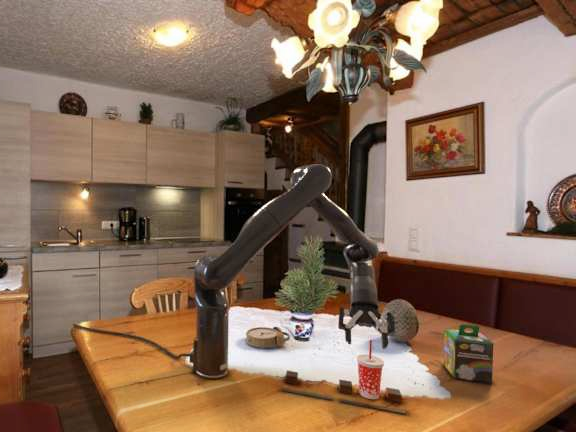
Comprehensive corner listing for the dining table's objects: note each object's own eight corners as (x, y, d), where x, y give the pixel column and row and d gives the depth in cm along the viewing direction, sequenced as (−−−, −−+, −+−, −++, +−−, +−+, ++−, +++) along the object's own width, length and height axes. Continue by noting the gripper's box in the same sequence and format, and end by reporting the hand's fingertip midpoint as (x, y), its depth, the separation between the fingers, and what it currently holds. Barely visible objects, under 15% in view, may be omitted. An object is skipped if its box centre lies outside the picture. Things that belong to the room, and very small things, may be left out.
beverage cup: (381, 403, 86) (383, 346, 85) (354, 396, 89) (355, 341, 89) (383, 392, 91) (385, 339, 91) (357, 385, 94) (359, 334, 94)
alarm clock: (244, 327, 129) (285, 322, 128) (246, 341, 129) (287, 335, 128) (246, 339, 118) (291, 333, 117) (248, 353, 118) (293, 347, 117)
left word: (281, 391, 91) (281, 383, 91) (284, 377, 98) (284, 370, 98) (331, 400, 87) (332, 392, 87) (330, 385, 94) (331, 377, 94)
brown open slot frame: (340, 402, 86) (340, 394, 86) (338, 386, 94) (339, 379, 94) (406, 414, 81) (406, 406, 81) (399, 397, 89) (399, 389, 89)
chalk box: (478, 370, 105) (480, 320, 104) (493, 384, 96) (495, 330, 96) (442, 365, 108) (443, 317, 107) (453, 378, 99) (455, 326, 99)
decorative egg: (424, 342, 125) (426, 301, 125) (408, 350, 119) (410, 305, 118) (390, 332, 135) (392, 293, 135) (374, 338, 128) (375, 298, 128)
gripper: (338, 285, 107) (339, 335, 97) (391, 290, 102) (398, 343, 92) (337, 298, 112) (338, 347, 102) (388, 303, 107) (394, 355, 97)
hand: (366, 345), depth 97 cm, fingers open, 8 cm apart
